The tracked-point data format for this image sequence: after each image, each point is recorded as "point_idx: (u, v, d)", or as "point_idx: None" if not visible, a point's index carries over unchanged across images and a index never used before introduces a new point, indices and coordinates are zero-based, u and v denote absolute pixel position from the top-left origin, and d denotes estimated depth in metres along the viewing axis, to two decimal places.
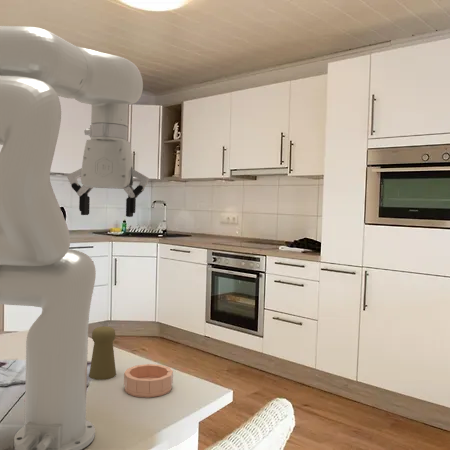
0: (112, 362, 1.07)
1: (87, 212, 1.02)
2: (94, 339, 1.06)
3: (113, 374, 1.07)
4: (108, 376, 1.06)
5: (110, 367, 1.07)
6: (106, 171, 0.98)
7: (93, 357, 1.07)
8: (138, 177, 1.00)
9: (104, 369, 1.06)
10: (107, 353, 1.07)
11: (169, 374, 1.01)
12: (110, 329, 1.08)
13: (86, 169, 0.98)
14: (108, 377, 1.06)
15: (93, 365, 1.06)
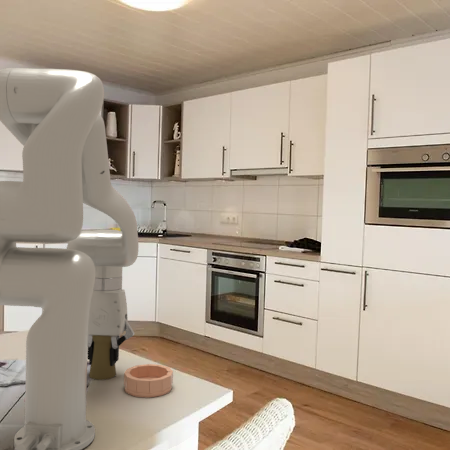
0: None
1: None
2: (94, 339, 1.06)
3: (113, 374, 1.07)
4: (108, 376, 1.06)
5: (110, 367, 1.07)
6: (102, 321, 1.05)
7: (93, 357, 1.07)
8: (126, 329, 1.07)
9: (104, 369, 1.06)
10: (107, 353, 1.07)
11: (169, 374, 1.01)
12: None
13: None
14: (108, 377, 1.06)
15: (93, 365, 1.06)
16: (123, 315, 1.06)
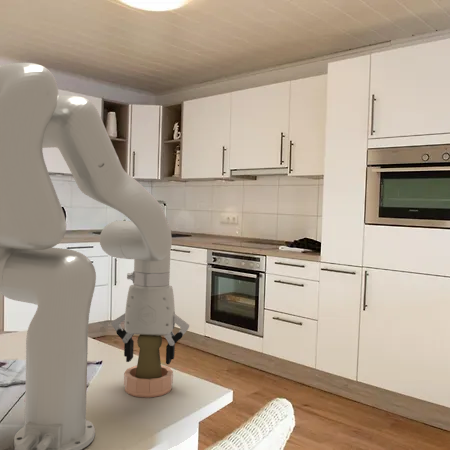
0: (159, 370, 1.00)
1: (132, 357, 1.02)
2: (140, 345, 0.99)
3: None
4: None
5: (157, 376, 1.00)
6: (149, 319, 0.98)
7: (139, 365, 1.00)
8: (179, 324, 1.00)
9: (151, 378, 0.99)
10: (154, 360, 1.00)
11: (169, 374, 1.01)
12: None
13: (129, 317, 0.99)
14: None
15: (139, 373, 0.99)
16: (172, 313, 0.99)
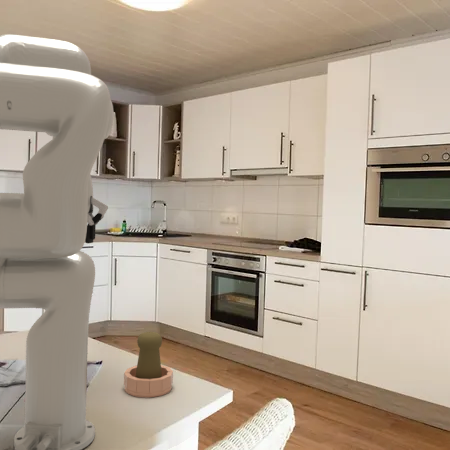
0: (159, 370, 1.00)
1: None
2: (140, 346, 0.99)
3: None
4: None
5: (157, 376, 1.00)
6: None
7: (139, 365, 1.00)
8: (97, 205, 1.04)
9: (151, 378, 0.99)
10: (154, 360, 1.00)
11: (169, 374, 1.01)
12: (157, 335, 1.01)
13: None
14: None
15: (139, 373, 0.99)
16: (88, 195, 1.03)
